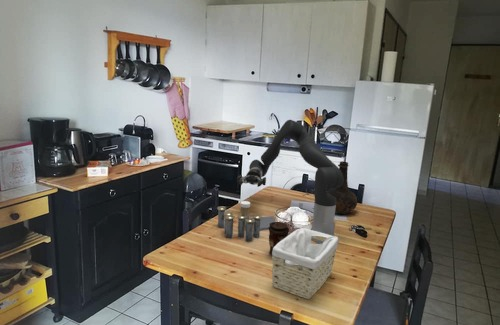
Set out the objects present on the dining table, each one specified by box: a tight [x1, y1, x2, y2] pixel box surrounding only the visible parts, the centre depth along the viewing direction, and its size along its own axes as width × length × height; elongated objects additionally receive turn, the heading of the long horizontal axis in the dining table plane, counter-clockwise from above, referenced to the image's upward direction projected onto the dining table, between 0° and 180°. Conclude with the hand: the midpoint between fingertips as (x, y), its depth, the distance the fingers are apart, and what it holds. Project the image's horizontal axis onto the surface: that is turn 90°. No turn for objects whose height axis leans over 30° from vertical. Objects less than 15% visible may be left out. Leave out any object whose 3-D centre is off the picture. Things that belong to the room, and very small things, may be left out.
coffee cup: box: [268, 221, 290, 258], centre depth 147 cm, size 9×8×13 cm
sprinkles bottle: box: [239, 200, 251, 232], centre depth 170 cm, size 5×5×14 cm
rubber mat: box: [252, 215, 276, 231], centre depth 179 cm, size 13×13×1 cm
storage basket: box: [271, 227, 339, 300], centre depth 129 cm, size 24×16×15 cm
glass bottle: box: [327, 161, 358, 215], centre depth 200 cm, size 18×18×28 cm
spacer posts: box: [216, 205, 263, 243], centre depth 166 cm, size 21×16×10 cm
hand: (249, 184), depth 177 cm, fingers open, 8 cm apart
